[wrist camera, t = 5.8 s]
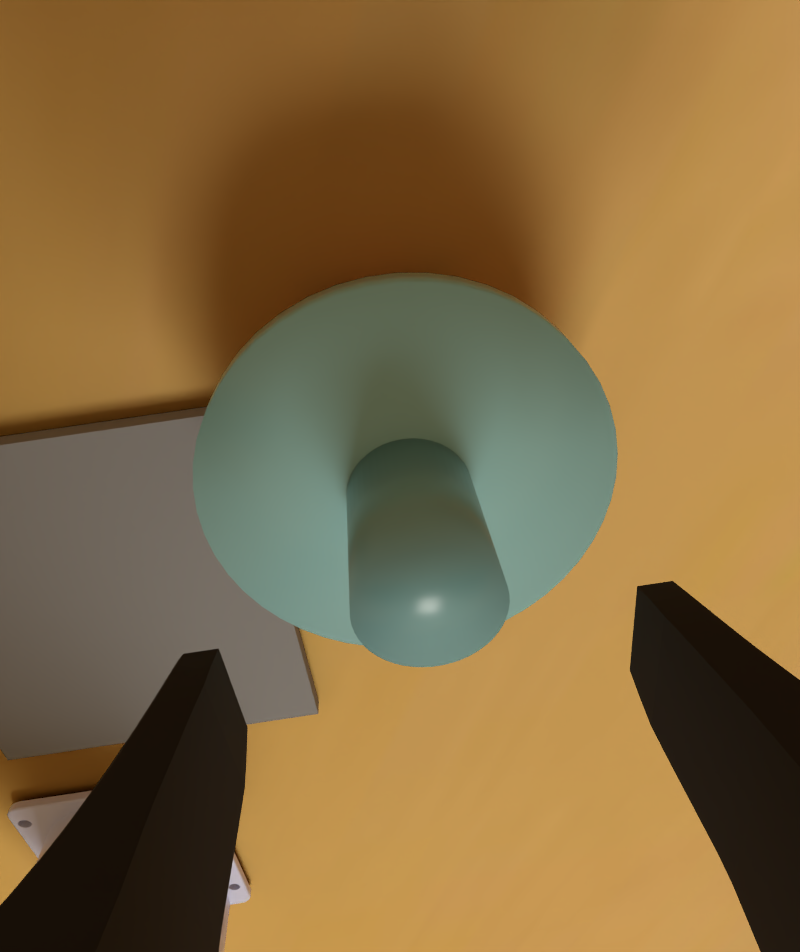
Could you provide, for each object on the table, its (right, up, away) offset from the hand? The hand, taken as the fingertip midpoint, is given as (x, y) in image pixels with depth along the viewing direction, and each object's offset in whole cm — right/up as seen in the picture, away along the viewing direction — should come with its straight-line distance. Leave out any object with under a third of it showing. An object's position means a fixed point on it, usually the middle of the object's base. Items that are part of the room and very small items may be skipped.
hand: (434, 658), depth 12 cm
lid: (0, +3, +5) cm, 6 cm away
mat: (-10, -1, +11) cm, 15 cm away
